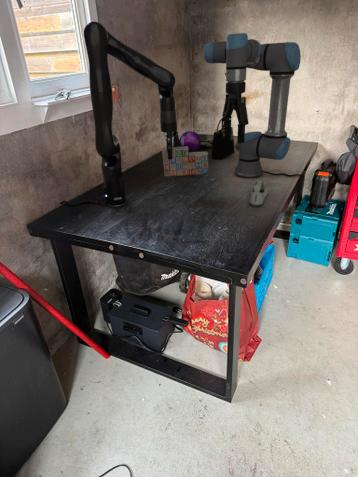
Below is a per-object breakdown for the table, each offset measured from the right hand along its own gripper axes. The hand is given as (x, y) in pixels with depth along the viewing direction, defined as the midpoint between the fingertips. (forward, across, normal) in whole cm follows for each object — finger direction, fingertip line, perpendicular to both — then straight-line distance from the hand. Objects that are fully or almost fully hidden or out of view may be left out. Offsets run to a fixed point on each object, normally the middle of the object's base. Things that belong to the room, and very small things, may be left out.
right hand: (233, 139), depth 134 cm
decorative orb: (+32, -97, +9) cm, 103 cm away
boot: (+32, -79, -4) cm, 85 cm away
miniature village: (+32, -93, +58) cm, 114 cm away
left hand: (+11, -24, -22) cm, 34 cm away
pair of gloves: (+32, -115, +30) cm, 123 cm away
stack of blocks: (+20, -23, -15) cm, 33 cm away
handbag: (+32, -81, +28) cm, 92 cm away
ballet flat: (+32, -8, +17) cm, 37 cm away
